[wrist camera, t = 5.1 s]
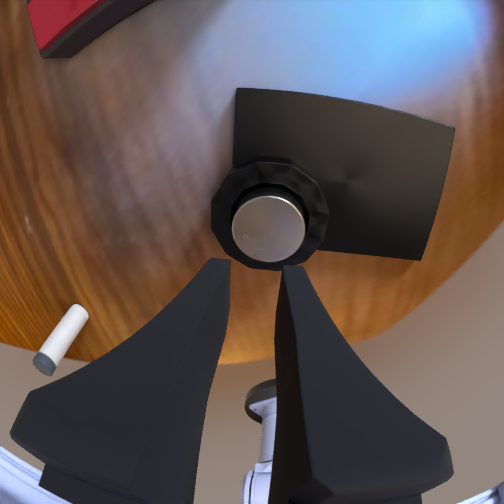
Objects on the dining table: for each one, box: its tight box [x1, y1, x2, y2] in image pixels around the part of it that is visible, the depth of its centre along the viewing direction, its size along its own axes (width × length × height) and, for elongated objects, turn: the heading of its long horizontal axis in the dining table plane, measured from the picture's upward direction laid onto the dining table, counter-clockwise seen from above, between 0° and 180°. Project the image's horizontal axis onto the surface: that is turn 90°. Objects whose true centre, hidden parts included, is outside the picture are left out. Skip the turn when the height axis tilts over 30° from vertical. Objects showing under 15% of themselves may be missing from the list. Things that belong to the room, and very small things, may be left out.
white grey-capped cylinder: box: [33, 304, 88, 376], centre depth 23 cm, size 2×2×8 cm
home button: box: [232, 186, 305, 262], centre depth 17 cm, size 4×4×2 cm
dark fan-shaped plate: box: [211, 88, 455, 271], centre depth 17 cm, size 15×11×2 cm
